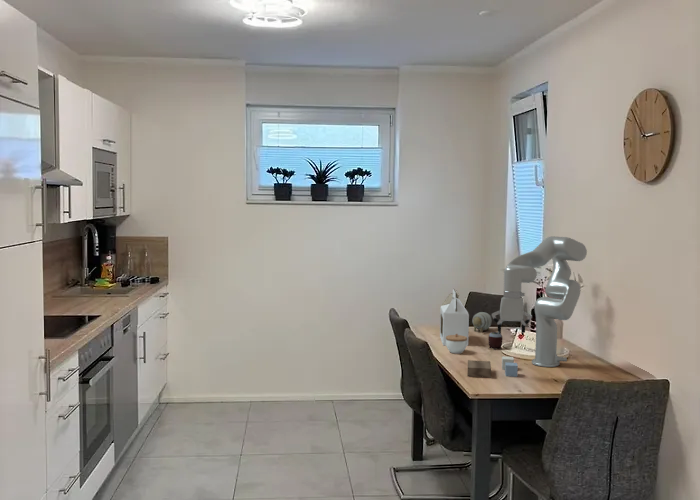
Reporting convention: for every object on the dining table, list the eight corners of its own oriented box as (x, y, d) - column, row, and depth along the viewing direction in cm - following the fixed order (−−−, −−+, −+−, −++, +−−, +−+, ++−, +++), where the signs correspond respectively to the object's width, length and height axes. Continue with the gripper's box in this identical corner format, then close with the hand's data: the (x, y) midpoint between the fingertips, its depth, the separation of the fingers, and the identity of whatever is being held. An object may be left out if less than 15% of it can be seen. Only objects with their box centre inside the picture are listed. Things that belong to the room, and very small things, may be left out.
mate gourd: (487, 349, 339) (488, 320, 338) (489, 345, 346) (490, 317, 345) (502, 350, 336) (502, 321, 335) (504, 347, 344) (504, 318, 342)
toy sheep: (467, 331, 382) (467, 312, 381) (480, 327, 395) (481, 309, 394) (483, 334, 375) (484, 315, 374) (496, 329, 388) (497, 311, 388)
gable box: (468, 346, 346) (469, 293, 343) (443, 345, 346) (444, 293, 344) (463, 337, 368) (464, 287, 365) (439, 336, 368) (440, 287, 366)
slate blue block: (516, 374, 292) (516, 362, 292) (517, 377, 287) (517, 365, 287) (505, 373, 293) (505, 362, 293) (505, 376, 288) (505, 365, 288)
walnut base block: (490, 370, 298) (490, 361, 298) (490, 377, 286) (491, 368, 285) (467, 368, 300) (467, 360, 300) (467, 376, 287) (467, 367, 287)
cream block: (512, 367, 303) (513, 356, 303) (513, 370, 298) (513, 359, 298) (501, 367, 304) (502, 356, 304) (502, 369, 299) (502, 359, 299)
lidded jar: (444, 349, 338) (444, 331, 337) (465, 349, 337) (465, 331, 337) (446, 354, 327) (447, 336, 326) (468, 354, 327) (468, 336, 326)
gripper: (532, 294, 290) (530, 332, 291) (492, 293, 293) (491, 330, 295) (533, 297, 282) (532, 336, 284) (492, 295, 286) (491, 334, 287)
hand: (511, 333), depth 289 cm, fingers open, 9 cm apart
